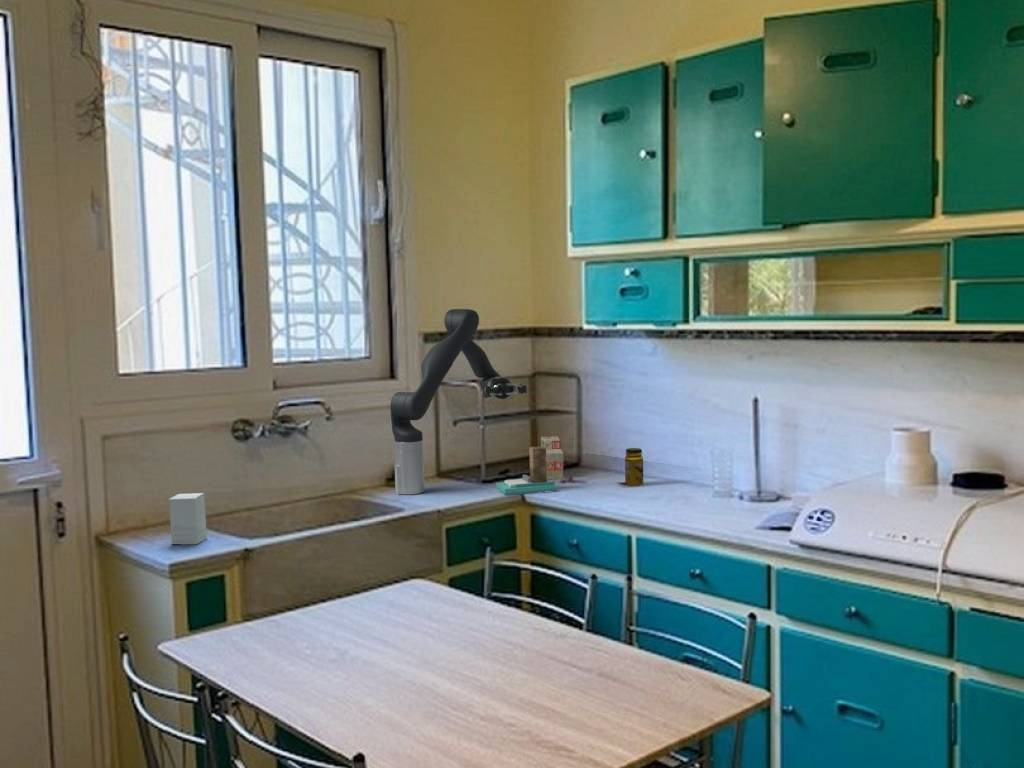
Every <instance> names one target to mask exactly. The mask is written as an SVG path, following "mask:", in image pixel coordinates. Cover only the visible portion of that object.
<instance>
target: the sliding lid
mask: <svg viewBox="0 0 1024 768" xmlns="http://www.w3.org/2000/svg"><path fill="white" fill-rule="evenodd" d="M522 478H523V479H522ZM522 478H515V479H516V480H509V479H505V480H504V482H505V483H506V484H507V485H509V486H510V487H516V484H528V483H532V478H531V477H530V475H527V474H522Z"/></svg>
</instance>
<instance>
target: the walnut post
mask: <svg viewBox="0 0 1024 768" xmlns="http://www.w3.org/2000/svg"><path fill="white" fill-rule="evenodd" d="M528 448H529V449H528V450H529V477H531V478H532V483H542V482H547V480H548V479H547V467H546V448H545V447H543V446H541V445H540V446H529V447H528Z"/></svg>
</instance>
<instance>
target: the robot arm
mask: <svg viewBox="0 0 1024 768" xmlns="http://www.w3.org/2000/svg"><path fill="white" fill-rule="evenodd" d="M443 321H444V327H445V330H446V332H447V333H448V334H449V336H447V337H446V338H444V339H442V340H441V341H439V342H437V343H436V344H434V345H433V346H432V347H431V348H430V349H429V351H428V352H427V353H426V355H425V357H424V358H423V360H422V362H421V365H420V366H421V367H420V369H421V378H422V380H421V383H420V384H419V386H418V388H417V389H416V390H415V391H412V392H411V391H398V392H395V393H394V394H393V395H392V397H391V400H390V405H389V406H390V410H389V412H390V422H391V431H392V434H393V437H394V439H393V440H394V457H395V458H394V459H395V461H394V486H395V487H394V488H395V492H396V494H397V495H417V494H422V493H424V492H425V471H424V469H425V468H424V467H425V466H424V439H423V432H422V431H421V430H420V429H418V428H416V427H415V426H414V425H413V424H412V423H411V422H412V421H418V420H421V419H422V418H423V417H424V416H425V415H426V413H427V411H428V410H429V408H430V405H431V402H432V401H433V398H434V397H435V394H436V393H437V390H438V388H440V385H441V384H442V382H443V380H444V379H445V377H446V376H447V374H448V373H449V371H450V369H451V368H452V366H453V365H454V362H455V361H456V359H457V357H458V356H459V355H460V353H461V352H462V353H463V355H464V356H465V358H466V360H467V361H468V364H469V366H470V368H471V370H472V372H473V374H474V376H475V377H476V378H478V379H482V378H483V379H482V382H480V385H481V387H482V390H483V394H484V397H485V399H487V398H491V397H494V398H496V399H499V400H505V399H507V398H508V397H509V398H510V396H511V395H518V394H521V395H522V394H526V393H527V392H528V391H527V385H526V384H525V385H524V384H521V383H520V384H516V383H512V382H511V381H510V379H507V378H505V377H503V376H501V374H499V373H498V372H497V370H495V369H494V367H493V366H492V364H491V362H490V360H489V357H488V355H487V354H486V352H485V350H484V349H482V348H481V346H480V345H478V344H477V343H476V342H475V341H474V340H472V338H473V336H474V334H475V333H476V332H477V330H478V327H479V323H480V316H479V314H478V312H477V311H476V310H474V309H470V308H463V309H462V308H453V309H452V308H451V309H449V310H447V311H446V313H445V315H444V320H443ZM484 397H483V398H484Z"/></svg>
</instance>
